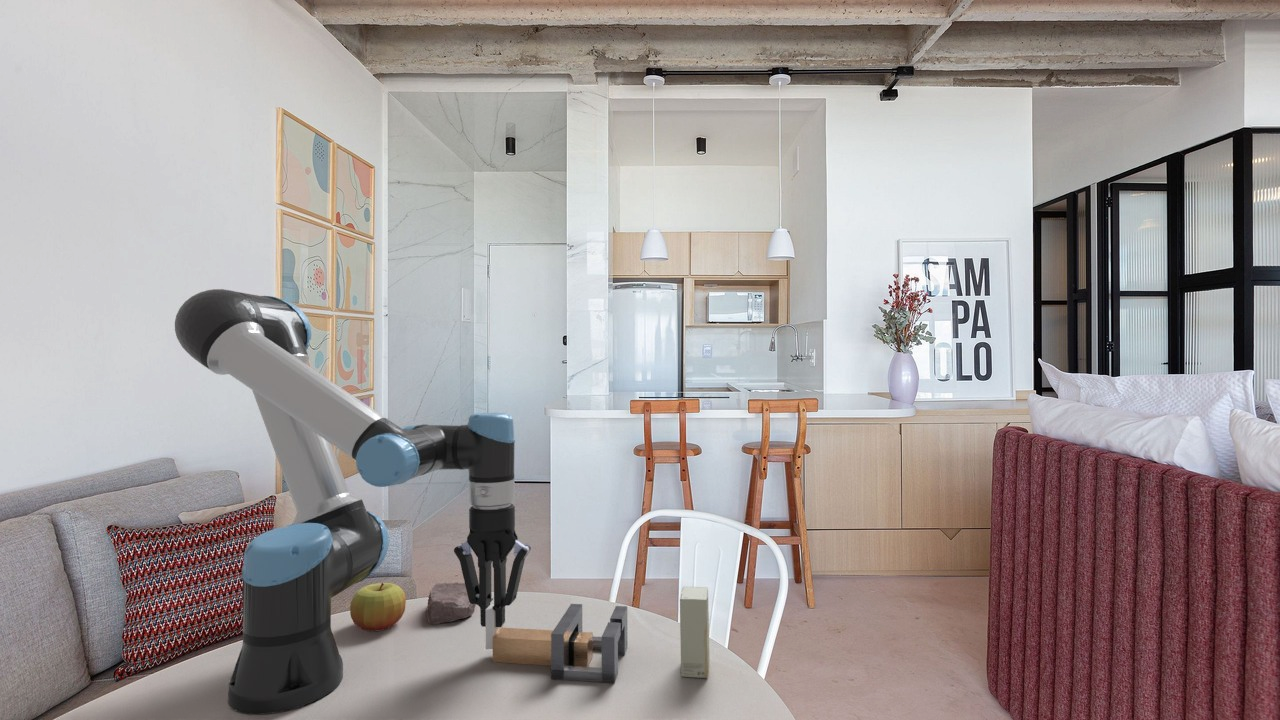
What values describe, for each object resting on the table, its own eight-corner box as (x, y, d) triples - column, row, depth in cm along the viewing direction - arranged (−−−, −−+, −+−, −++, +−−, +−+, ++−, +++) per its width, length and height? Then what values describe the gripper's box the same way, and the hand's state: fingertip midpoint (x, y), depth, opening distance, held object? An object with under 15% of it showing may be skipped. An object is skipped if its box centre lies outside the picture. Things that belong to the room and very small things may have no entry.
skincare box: (708, 679, 96) (707, 600, 96) (679, 677, 96) (679, 599, 96) (709, 660, 102) (709, 586, 102) (682, 659, 102) (682, 585, 103)
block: (492, 661, 102) (492, 637, 102) (501, 651, 106) (501, 627, 106) (587, 667, 99) (587, 642, 99) (592, 656, 103) (592, 632, 103)
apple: (416, 618, 120) (416, 577, 120) (385, 639, 110) (385, 594, 110) (372, 614, 122) (372, 573, 122) (337, 634, 113) (338, 590, 113)
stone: (473, 622, 118) (472, 598, 118) (423, 627, 116) (423, 602, 116) (477, 600, 130) (477, 578, 130) (432, 604, 128) (432, 581, 128)
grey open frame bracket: (551, 679, 96) (551, 633, 96) (571, 643, 108) (571, 603, 108) (614, 683, 94) (614, 637, 95) (627, 647, 107) (627, 606, 107)
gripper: (445, 508, 101) (446, 653, 101) (521, 510, 100) (523, 657, 99) (464, 499, 109) (465, 634, 108) (536, 500, 107) (537, 637, 107)
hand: (493, 645), depth 104 cm, fingers closed
